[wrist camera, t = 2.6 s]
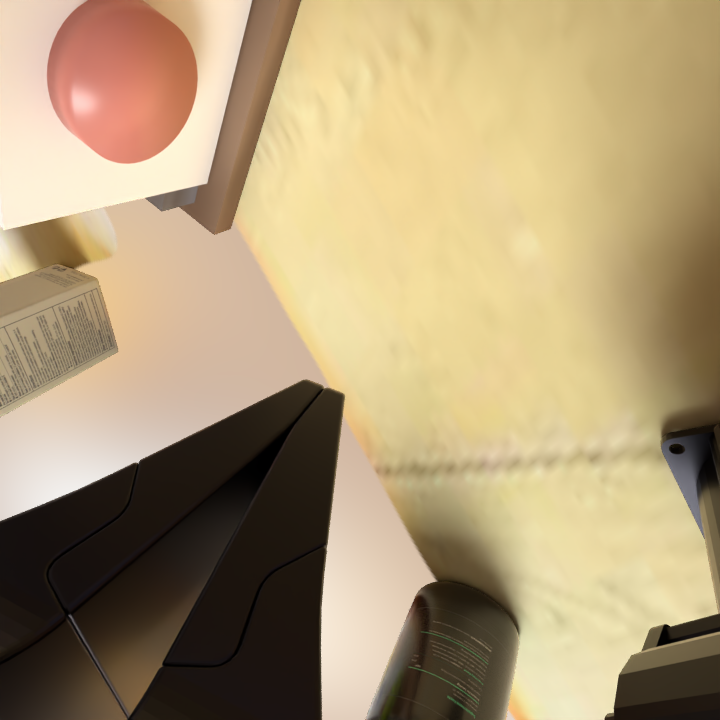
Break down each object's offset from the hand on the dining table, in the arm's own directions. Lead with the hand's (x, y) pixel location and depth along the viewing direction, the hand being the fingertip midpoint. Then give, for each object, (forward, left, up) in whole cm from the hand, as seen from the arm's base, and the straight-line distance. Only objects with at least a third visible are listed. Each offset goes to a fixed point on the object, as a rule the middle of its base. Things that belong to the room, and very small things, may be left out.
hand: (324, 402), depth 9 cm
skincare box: (+9, +27, -12) cm, 31 cm away
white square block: (+11, +5, -10) cm, 16 cm away
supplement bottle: (-21, +12, -12) cm, 27 cm away
